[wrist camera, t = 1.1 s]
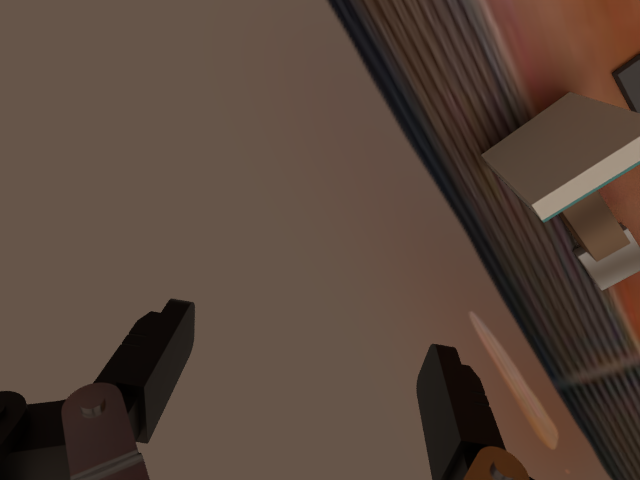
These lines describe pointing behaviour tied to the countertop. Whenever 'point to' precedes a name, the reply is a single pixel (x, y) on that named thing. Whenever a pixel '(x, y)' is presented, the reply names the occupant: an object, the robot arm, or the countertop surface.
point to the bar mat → (630, 82)
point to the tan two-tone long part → (601, 241)
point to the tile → (567, 153)
